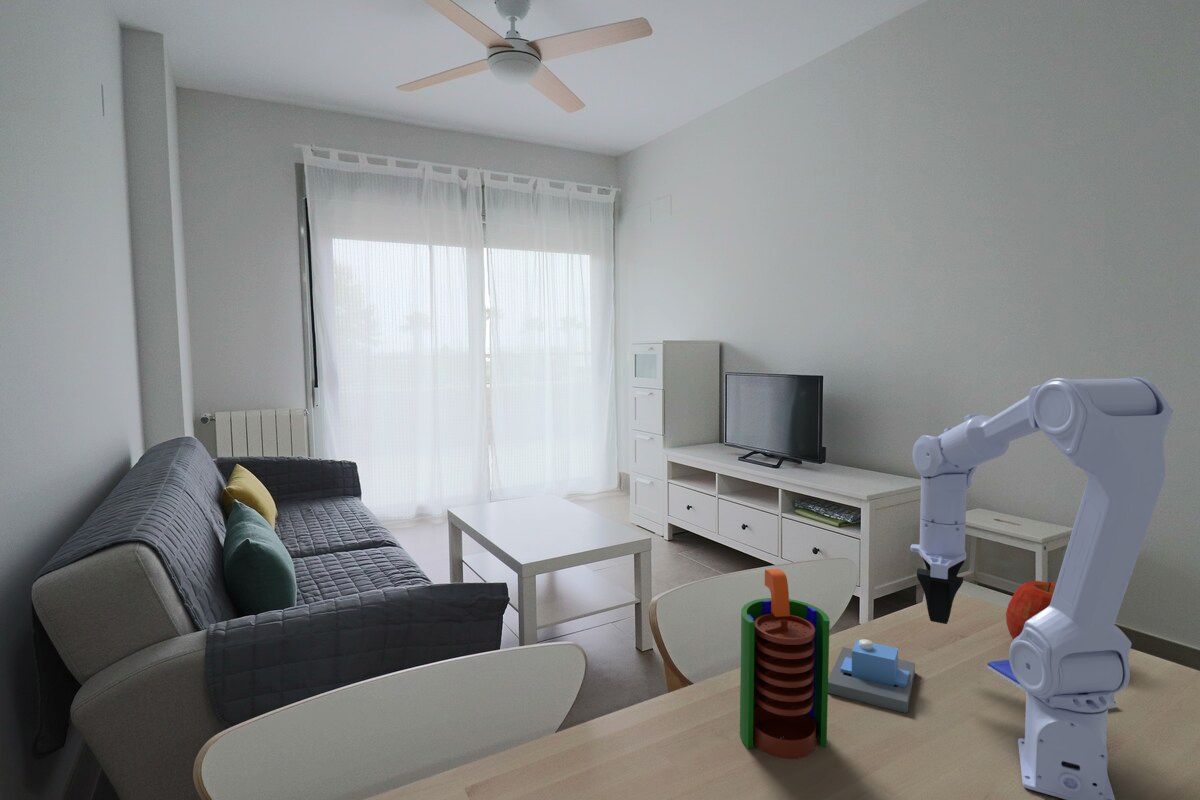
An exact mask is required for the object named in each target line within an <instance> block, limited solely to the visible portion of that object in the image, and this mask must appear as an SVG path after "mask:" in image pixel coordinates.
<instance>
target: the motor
mask: <svg viewBox="0 0 1200 800" xmlns="http://www.w3.org/2000/svg"><path fill="white" fill-rule="evenodd" d="M764 586H765V587H767V589H769V592H770V597H766V598H764V597H763V598H758V599H754V600H752V601H749V602H747V603H745V604H744V605H743V606H742V608H741V611H740V615H741V616H740V679H739V680H740V687H739V688H740V690H739V694H740V695H739V703H740V704H739V737H740V740H741V742H742V743H743V745H744V746H745V748H746V749H747V750H750V749H753V747H754V745H755V747H757V748H758V749H759V750H760V751H762V752H764V753H766V754H768V755H769V756H772V757H776V758H780V759H787V760H795V759H802V758H806V757H807V756H810V755H811V754H812V753H813V752H814V751H815V748H816V743H817V742H816V739H819V740H818V741H819V743H820V747H823V748H827V744H828V743H827V741H828V740H827V737H828V703H829V702H828V701H829V697H828V696H829V693H828V679H829V665H830V664H829V663H830V662H829V660H830V654H829V653H830V622H831V621H830V618H829V615H828V614H827V613H826V612H825V611H824V610H822V609H821V608H819V607H818V606H815V605H812V604H810V603H807V602H804V601H801V600H797V599H792V598H790V597H789V596H790V593H789V583H788V578H787V574H786V573H785V572H784V571H783V570H782V569H779V568H769V569H768V568H767V569H764Z"/></svg>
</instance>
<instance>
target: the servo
mask: <svg viewBox="0 0 1200 800" xmlns="http://www.w3.org/2000/svg"><path fill="white" fill-rule="evenodd" d="M852 649H853V650H852V658H848V657H845V659H844V662H843V664H842V666H841V669H840V671H841V672H845V673H847V674H850V675H851V677H855V678H859V679H863V680H868V681H872V682H876V683H880V684H884V685H888V686H893V687H897V686H898V685H899V686H904V687H907V682H908V677H909V671H905V670H901V669H898V659H899V648H898V647H893V646H889V645H883V644H878V643H874V642H873V641H872V640H869V639H856V640H855V643H854V645H853V648H852Z"/></svg>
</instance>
